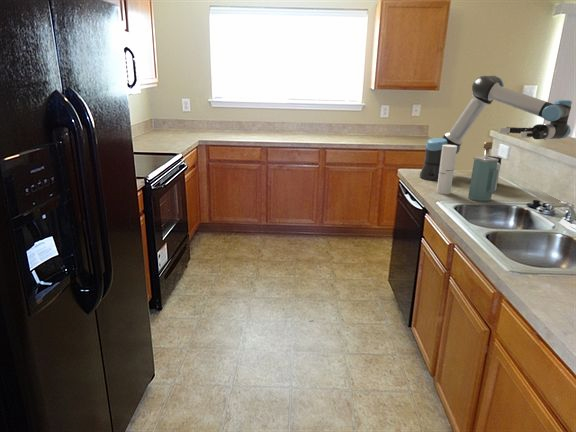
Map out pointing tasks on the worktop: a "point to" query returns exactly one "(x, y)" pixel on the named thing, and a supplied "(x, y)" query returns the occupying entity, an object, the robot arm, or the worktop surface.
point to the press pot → (483, 179)
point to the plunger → (487, 148)
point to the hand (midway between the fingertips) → (509, 132)
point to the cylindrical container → (446, 169)
